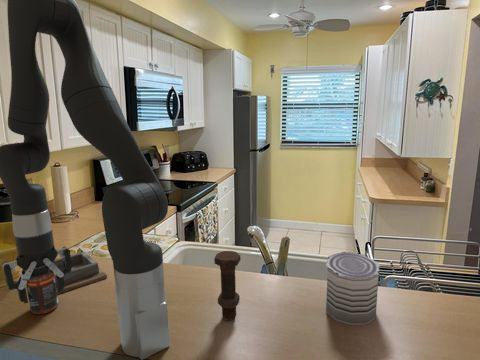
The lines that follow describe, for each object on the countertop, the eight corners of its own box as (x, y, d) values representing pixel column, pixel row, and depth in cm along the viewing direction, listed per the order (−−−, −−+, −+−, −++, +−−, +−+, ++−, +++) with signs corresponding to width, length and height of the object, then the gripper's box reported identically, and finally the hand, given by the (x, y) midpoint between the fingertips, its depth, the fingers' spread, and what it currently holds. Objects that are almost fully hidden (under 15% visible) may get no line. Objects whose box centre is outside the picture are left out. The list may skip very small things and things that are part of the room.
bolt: (219, 326, 78) (216, 261, 75) (214, 313, 83) (212, 252, 79) (244, 321, 79) (243, 258, 76) (238, 309, 84) (237, 249, 81)
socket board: (107, 277, 101) (105, 264, 100) (52, 295, 92) (50, 281, 91) (87, 260, 112) (86, 248, 112) (37, 274, 103) (35, 261, 103)
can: (374, 301, 86) (377, 254, 84) (379, 329, 76) (382, 277, 73) (325, 295, 89) (327, 250, 87) (323, 321, 79) (325, 271, 76)
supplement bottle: (64, 302, 89) (58, 259, 86) (49, 316, 83) (42, 270, 80) (41, 301, 89) (34, 259, 87) (24, 315, 83) (17, 270, 81)
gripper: (-2, 243, 74) (11, 314, 78) (71, 226, 84) (79, 291, 87) (-7, 233, 80) (5, 301, 84) (62, 219, 89) (70, 280, 93)
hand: (43, 296), depth 85 cm, fingers open, 7 cm apart
